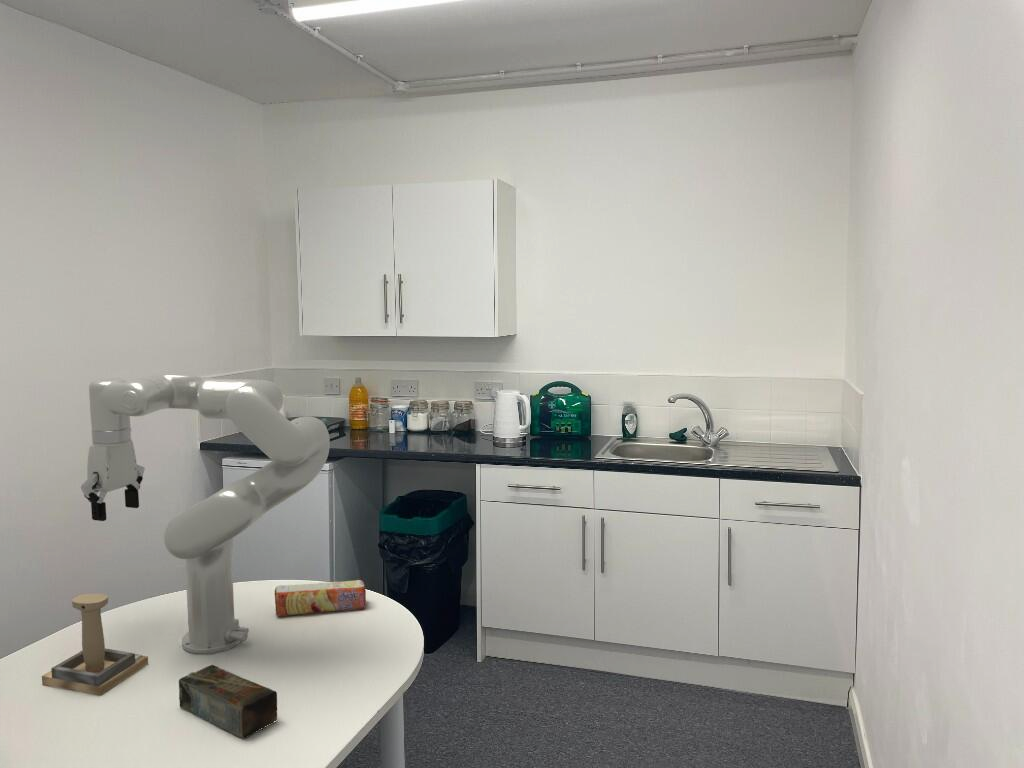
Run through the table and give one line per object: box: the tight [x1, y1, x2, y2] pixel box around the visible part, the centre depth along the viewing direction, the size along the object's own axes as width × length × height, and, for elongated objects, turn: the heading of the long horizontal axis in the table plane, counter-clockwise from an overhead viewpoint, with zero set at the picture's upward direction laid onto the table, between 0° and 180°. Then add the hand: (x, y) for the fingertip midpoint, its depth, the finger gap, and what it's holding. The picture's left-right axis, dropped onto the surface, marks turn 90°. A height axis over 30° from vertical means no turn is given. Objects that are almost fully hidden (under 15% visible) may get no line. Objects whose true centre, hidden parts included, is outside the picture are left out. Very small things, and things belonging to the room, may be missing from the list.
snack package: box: [274, 579, 367, 617], centre depth 198 cm, size 21×7×7 cm, turn 105°
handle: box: [71, 592, 109, 673], centre depth 163 cm, size 5×6×15 cm
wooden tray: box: [41, 647, 149, 696], centre depth 166 cm, size 14×13×4 cm
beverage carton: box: [178, 664, 278, 739], centre depth 152 cm, size 8×19×7 cm, turn 56°
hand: (116, 513), depth 179 cm, fingers open, 9 cm apart
